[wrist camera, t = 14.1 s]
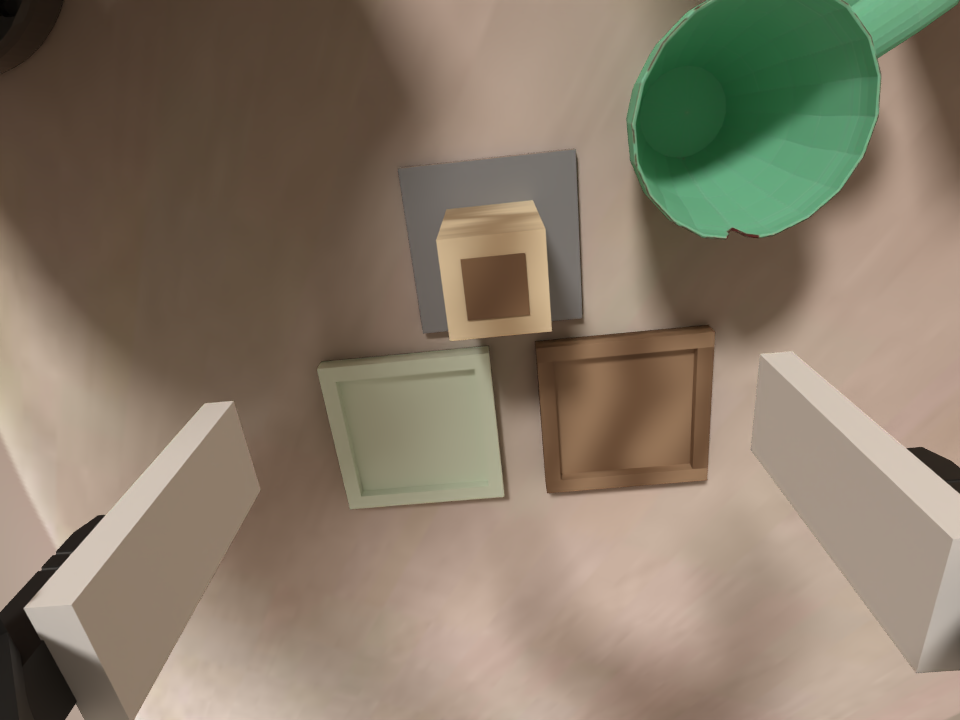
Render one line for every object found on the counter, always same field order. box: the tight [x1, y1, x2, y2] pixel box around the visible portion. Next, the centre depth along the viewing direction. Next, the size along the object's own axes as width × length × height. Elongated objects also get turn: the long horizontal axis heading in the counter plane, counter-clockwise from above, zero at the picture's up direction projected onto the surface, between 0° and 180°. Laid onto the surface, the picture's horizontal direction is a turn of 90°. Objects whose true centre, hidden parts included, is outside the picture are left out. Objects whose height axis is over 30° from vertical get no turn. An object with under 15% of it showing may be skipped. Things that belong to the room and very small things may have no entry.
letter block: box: [436, 200, 552, 341], centre depth 32 cm, size 5×5×8 cm
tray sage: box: [317, 346, 504, 509], centre depth 41 cm, size 11×11×1 cm
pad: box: [398, 148, 582, 333], centre depth 36 cm, size 10×10×1 cm
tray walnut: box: [535, 325, 715, 493], centre depth 40 cm, size 11×11×1 cm
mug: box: [626, 0, 959, 240], centre depth 28 cm, size 15×10×10 cm
